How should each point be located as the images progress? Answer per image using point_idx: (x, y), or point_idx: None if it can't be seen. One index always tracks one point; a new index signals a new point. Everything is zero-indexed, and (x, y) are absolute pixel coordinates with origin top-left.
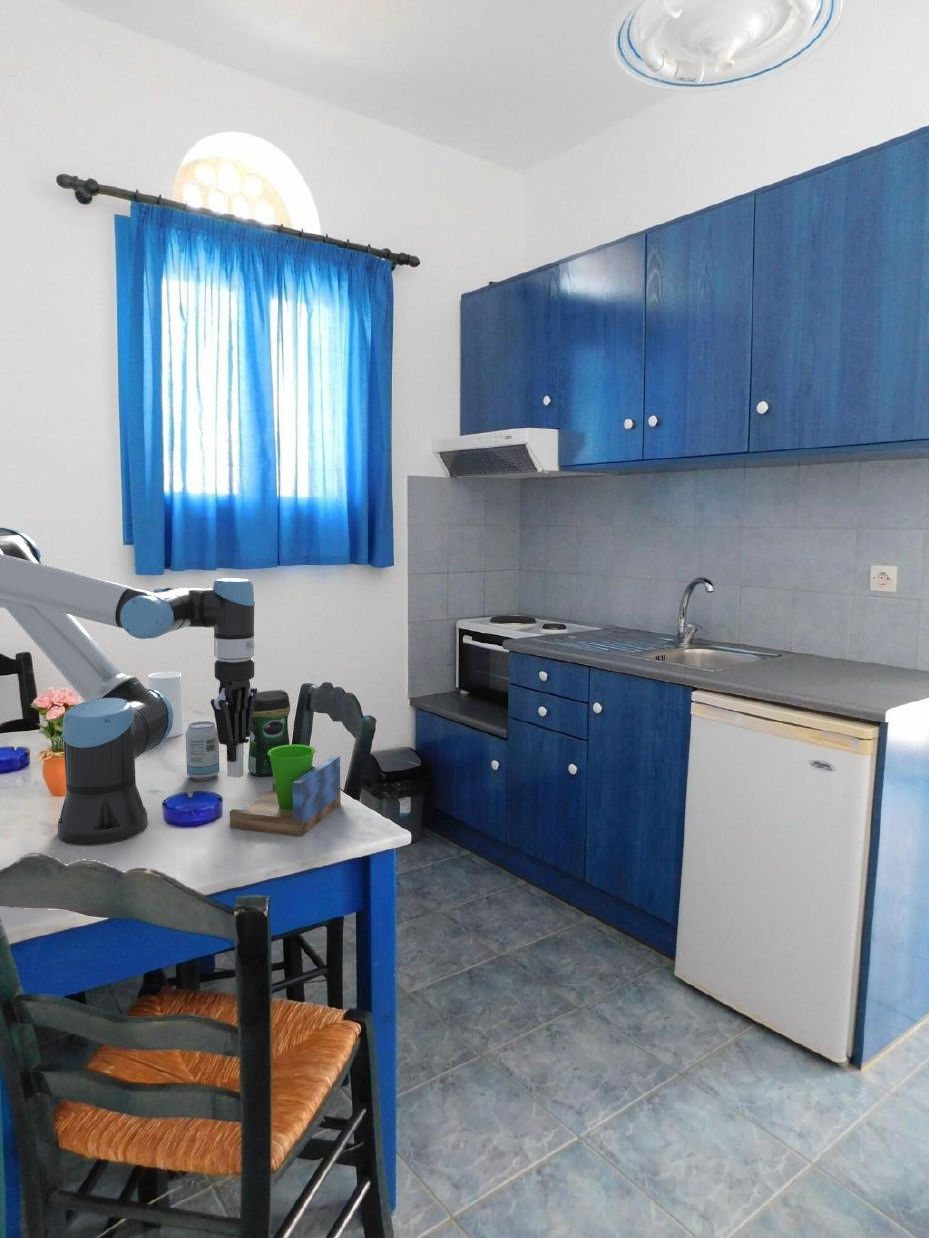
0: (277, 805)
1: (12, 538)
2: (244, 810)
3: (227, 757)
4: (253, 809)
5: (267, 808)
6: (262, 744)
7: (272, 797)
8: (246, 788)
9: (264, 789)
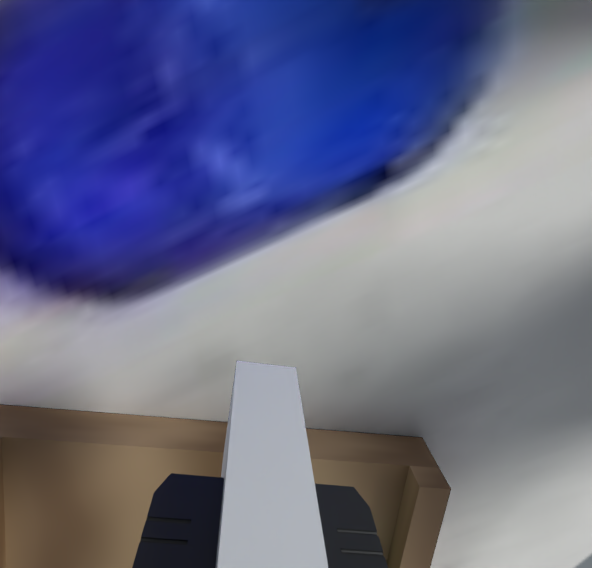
0: None
1: None
2: (84, 459)
3: (151, 514)
4: (111, 491)
5: None
6: None
7: None
8: (547, 250)
9: (532, 345)
